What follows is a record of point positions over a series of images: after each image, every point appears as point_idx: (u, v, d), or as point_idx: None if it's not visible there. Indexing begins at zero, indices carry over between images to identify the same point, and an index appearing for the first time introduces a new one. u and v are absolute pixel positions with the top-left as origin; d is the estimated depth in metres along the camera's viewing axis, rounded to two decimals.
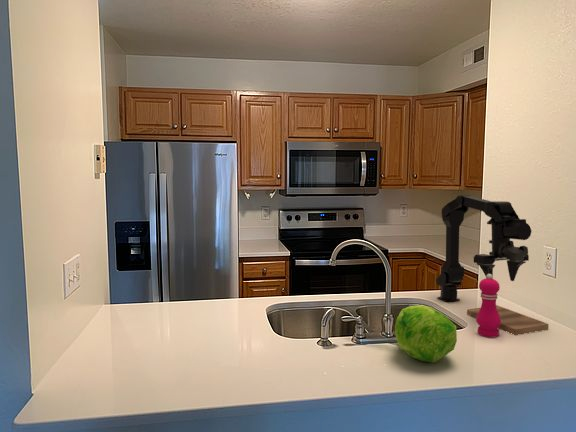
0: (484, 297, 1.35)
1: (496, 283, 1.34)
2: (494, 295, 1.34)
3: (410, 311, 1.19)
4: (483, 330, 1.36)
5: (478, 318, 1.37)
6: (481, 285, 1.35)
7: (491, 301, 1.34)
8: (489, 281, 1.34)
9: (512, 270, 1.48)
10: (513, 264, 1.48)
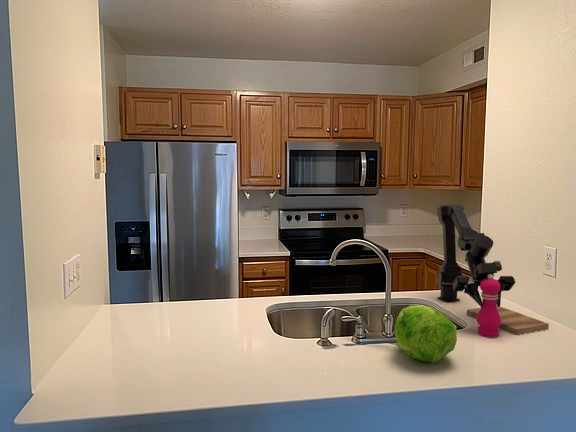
0: (485, 297, 1.35)
1: (497, 283, 1.34)
2: (495, 295, 1.34)
3: (410, 311, 1.19)
4: (483, 330, 1.36)
5: (478, 318, 1.37)
6: (482, 285, 1.35)
7: (492, 301, 1.34)
8: (490, 281, 1.34)
9: None
10: None
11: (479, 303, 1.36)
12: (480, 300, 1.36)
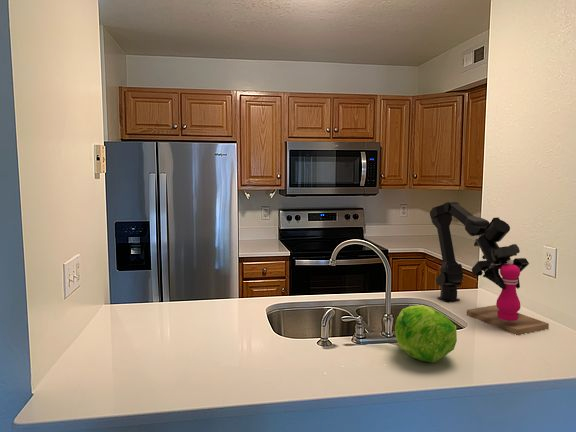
0: (507, 282, 1.38)
1: (518, 268, 1.38)
2: (516, 280, 1.38)
3: (410, 311, 1.19)
4: (506, 314, 1.39)
5: (500, 303, 1.40)
6: (504, 271, 1.38)
7: (513, 285, 1.38)
8: (512, 266, 1.38)
9: None
10: None
11: (501, 286, 1.39)
12: (502, 283, 1.39)
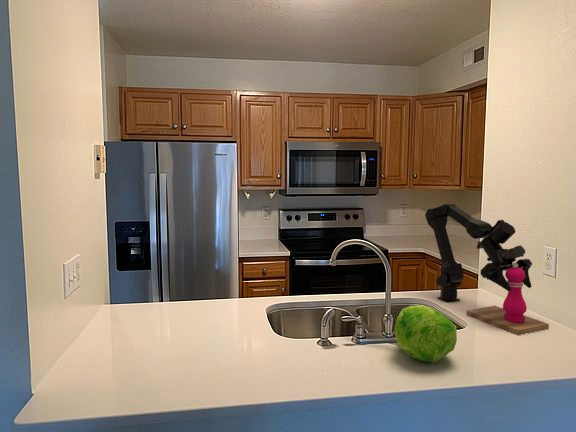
0: (513, 285, 1.42)
1: (523, 271, 1.42)
2: (522, 282, 1.42)
3: (410, 311, 1.19)
4: (514, 317, 1.42)
5: (508, 306, 1.43)
6: (510, 274, 1.42)
7: (520, 288, 1.42)
8: (517, 269, 1.42)
9: None
10: None
11: (506, 287, 1.41)
12: (507, 284, 1.41)
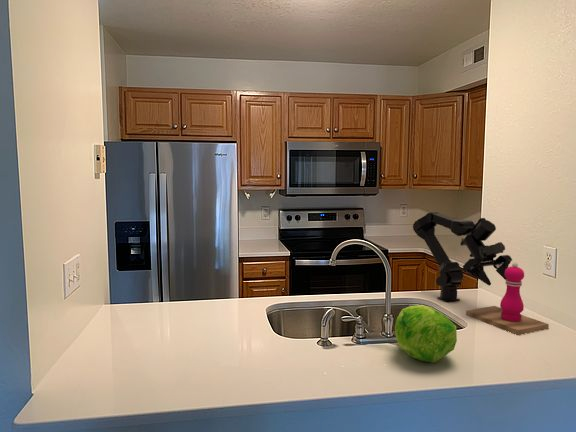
0: (512, 284, 1.43)
1: (522, 271, 1.43)
2: (520, 282, 1.43)
3: (410, 311, 1.19)
4: (510, 315, 1.44)
5: (505, 305, 1.44)
6: (509, 273, 1.43)
7: (518, 287, 1.43)
8: (517, 269, 1.42)
9: None
10: (502, 268, 1.55)
11: (487, 282, 1.49)
12: (488, 279, 1.49)
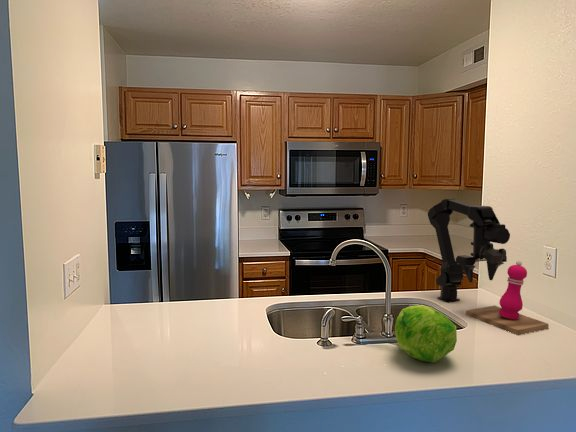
0: (514, 282, 1.44)
1: (526, 270, 1.44)
2: (522, 281, 1.44)
3: (410, 311, 1.19)
4: (509, 313, 1.45)
5: (505, 302, 1.45)
6: (513, 271, 1.44)
7: (520, 286, 1.44)
8: (521, 267, 1.44)
9: (491, 270, 1.58)
10: (492, 264, 1.58)
11: (469, 279, 1.56)
12: (471, 278, 1.55)
